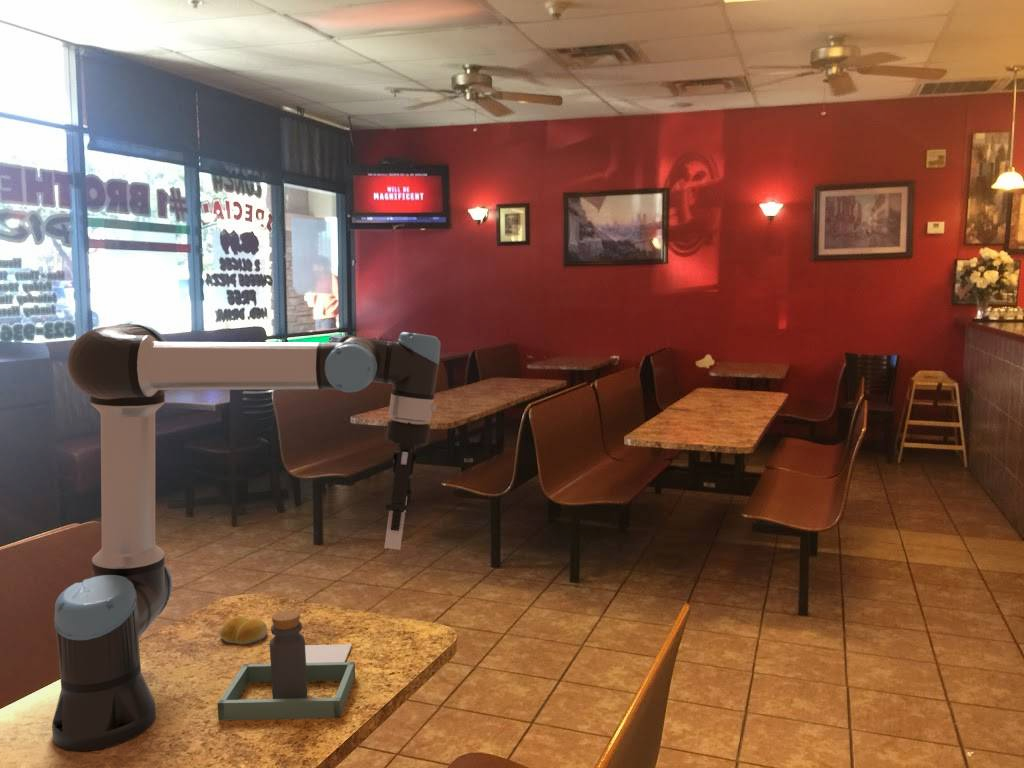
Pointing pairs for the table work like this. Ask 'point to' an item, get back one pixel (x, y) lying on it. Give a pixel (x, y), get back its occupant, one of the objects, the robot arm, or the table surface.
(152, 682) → the table surface
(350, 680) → the green rectangular frame
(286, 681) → the bottle
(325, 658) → the tile
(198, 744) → the table surface
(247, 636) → the bread roll
